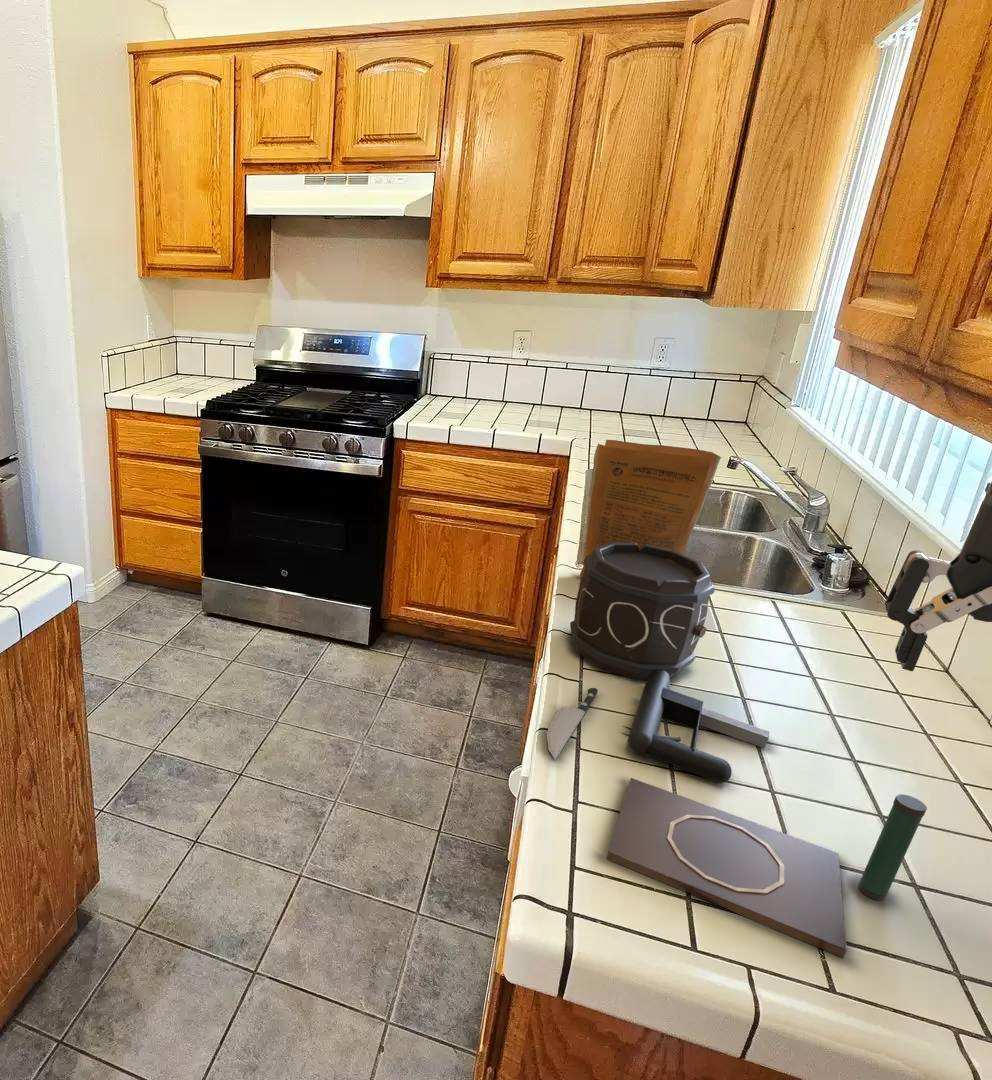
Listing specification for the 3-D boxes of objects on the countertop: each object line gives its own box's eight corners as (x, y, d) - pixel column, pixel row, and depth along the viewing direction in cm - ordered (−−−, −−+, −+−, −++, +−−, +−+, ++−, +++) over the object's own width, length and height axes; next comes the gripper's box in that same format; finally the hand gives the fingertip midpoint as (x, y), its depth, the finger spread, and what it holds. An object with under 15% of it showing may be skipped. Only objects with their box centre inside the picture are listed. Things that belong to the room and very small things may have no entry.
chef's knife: (530, 752, 93) (554, 761, 91) (531, 744, 92) (556, 753, 91) (576, 687, 107) (598, 693, 105) (577, 680, 107) (599, 686, 105)
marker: (884, 889, 75) (925, 800, 71) (887, 904, 73) (928, 814, 69) (856, 878, 76) (894, 790, 72) (858, 893, 74) (897, 804, 70)
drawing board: (835, 860, 78) (839, 852, 78) (843, 958, 67) (847, 949, 67) (628, 784, 88) (631, 776, 87) (606, 858, 77) (608, 850, 76)
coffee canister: (660, 700, 105) (688, 599, 99) (545, 647, 118) (564, 554, 112) (714, 662, 116) (742, 568, 110) (604, 617, 128) (624, 531, 123)
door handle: (771, 705, 101) (643, 661, 108) (770, 787, 85) (620, 730, 92) (762, 725, 102) (636, 681, 109) (760, 810, 86) (612, 751, 94)
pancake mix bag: (678, 610, 132) (720, 456, 122) (566, 582, 142) (597, 436, 131) (683, 597, 137) (723, 448, 127) (575, 570, 147) (604, 430, 137)
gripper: (939, 499, 60) (870, 675, 66) (1197, 541, 53) (1094, 733, 59) (925, 478, 66) (863, 641, 72) (1155, 513, 59) (1066, 691, 65)
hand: (967, 682), depth 65 cm, fingers open, 8 cm apart
